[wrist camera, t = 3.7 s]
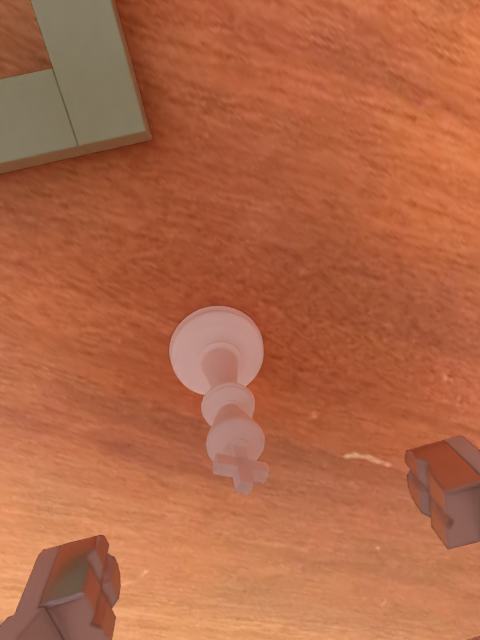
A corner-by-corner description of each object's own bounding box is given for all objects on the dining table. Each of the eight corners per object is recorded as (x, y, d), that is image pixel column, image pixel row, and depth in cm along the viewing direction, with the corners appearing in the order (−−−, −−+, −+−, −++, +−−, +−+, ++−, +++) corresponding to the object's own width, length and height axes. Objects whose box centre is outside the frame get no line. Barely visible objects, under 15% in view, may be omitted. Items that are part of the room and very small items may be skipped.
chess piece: (245, 400, 22) (291, 561, 13) (158, 380, 21) (138, 541, 12) (276, 320, 21) (353, 434, 11) (184, 293, 20) (186, 396, 10)
